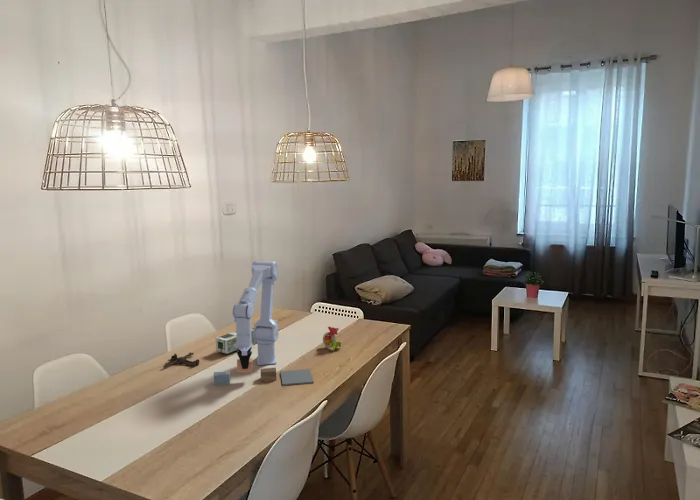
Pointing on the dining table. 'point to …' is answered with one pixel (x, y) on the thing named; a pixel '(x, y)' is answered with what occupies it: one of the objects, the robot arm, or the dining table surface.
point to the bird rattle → (331, 338)
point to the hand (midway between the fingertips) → (245, 366)
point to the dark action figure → (182, 361)
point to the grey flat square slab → (296, 377)
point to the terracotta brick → (250, 368)
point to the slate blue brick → (221, 378)
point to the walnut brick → (268, 374)
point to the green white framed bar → (230, 341)
